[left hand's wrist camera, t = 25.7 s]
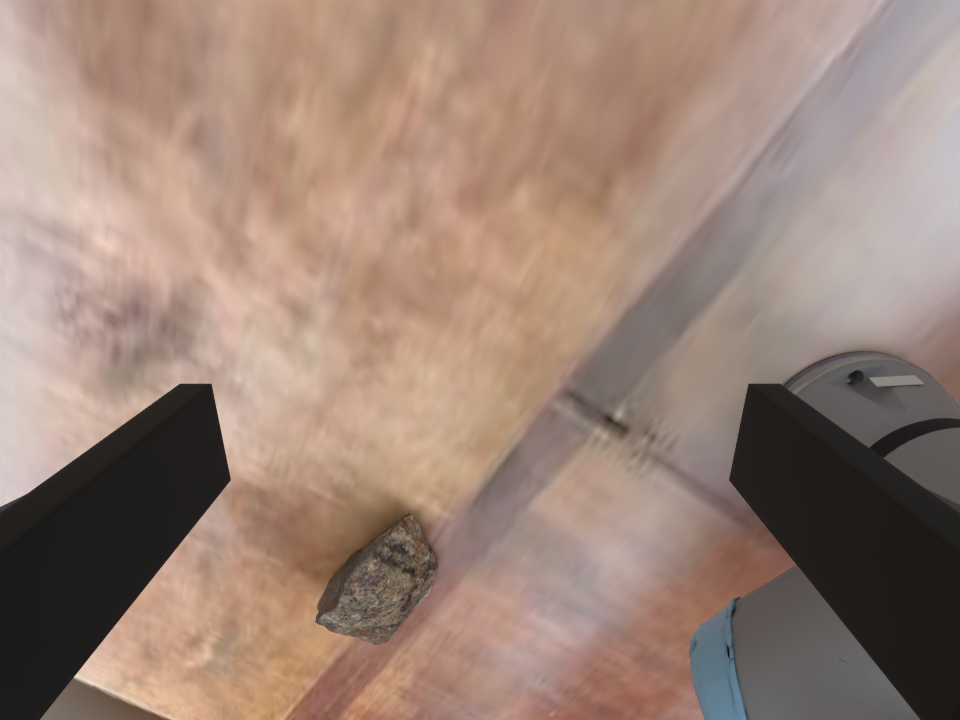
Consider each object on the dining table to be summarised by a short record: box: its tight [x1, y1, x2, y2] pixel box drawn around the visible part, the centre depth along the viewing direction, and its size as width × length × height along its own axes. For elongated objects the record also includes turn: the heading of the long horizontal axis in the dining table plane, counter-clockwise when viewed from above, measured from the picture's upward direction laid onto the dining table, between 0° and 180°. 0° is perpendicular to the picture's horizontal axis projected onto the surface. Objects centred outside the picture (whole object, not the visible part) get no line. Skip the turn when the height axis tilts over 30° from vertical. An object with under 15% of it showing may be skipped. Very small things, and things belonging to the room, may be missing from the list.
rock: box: [315, 514, 438, 645], centre depth 47 cm, size 14×9×10 cm
